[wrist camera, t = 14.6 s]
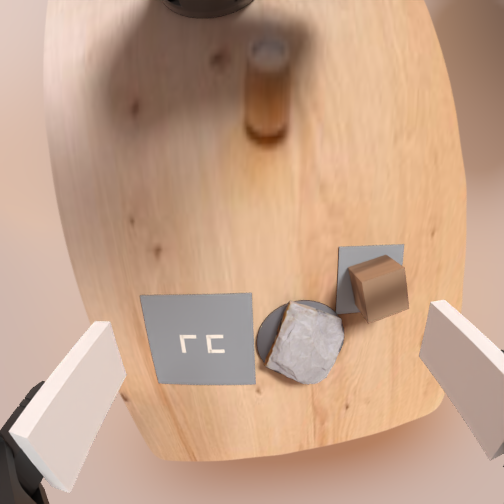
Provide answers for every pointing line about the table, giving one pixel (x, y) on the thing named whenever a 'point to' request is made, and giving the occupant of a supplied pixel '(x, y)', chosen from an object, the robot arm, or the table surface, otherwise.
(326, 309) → the coaster
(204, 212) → the table surface
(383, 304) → the walnut block
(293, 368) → the stone
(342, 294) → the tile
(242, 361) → the tile
